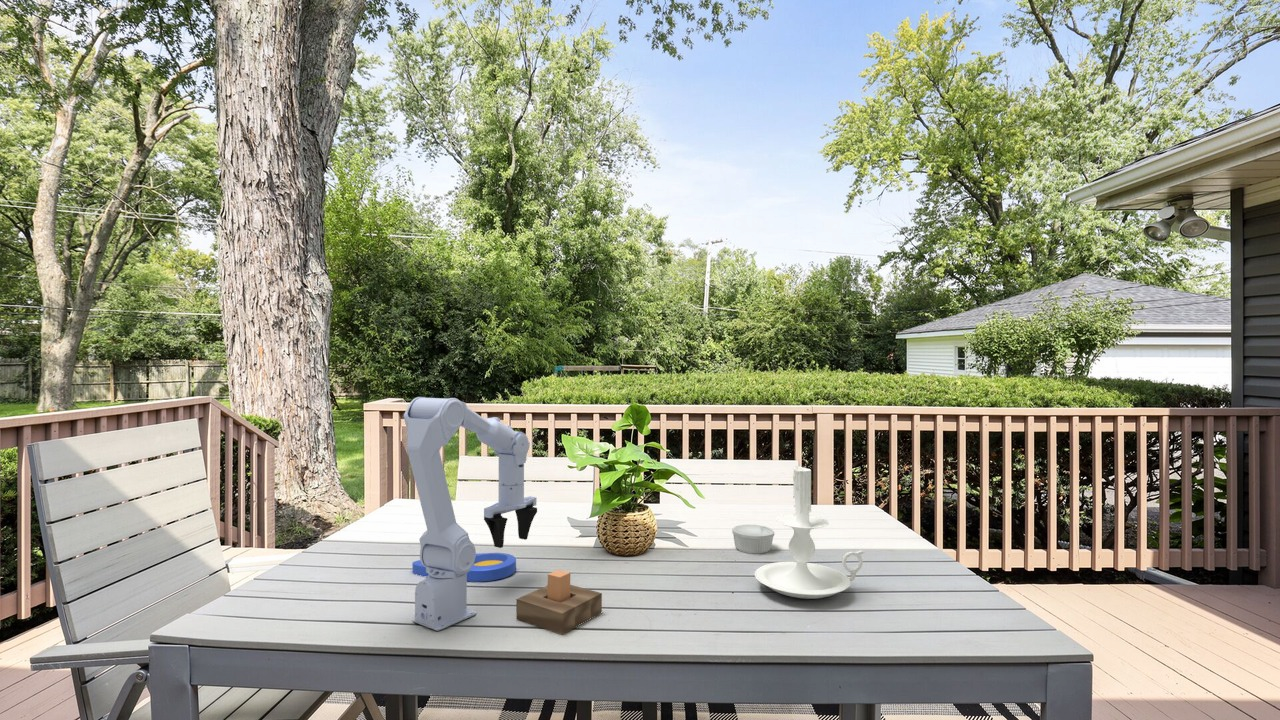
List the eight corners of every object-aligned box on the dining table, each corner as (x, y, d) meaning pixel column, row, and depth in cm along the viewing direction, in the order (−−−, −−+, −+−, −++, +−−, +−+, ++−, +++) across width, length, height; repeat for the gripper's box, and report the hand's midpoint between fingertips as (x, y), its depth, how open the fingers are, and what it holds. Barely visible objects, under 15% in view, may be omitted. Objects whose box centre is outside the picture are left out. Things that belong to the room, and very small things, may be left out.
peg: (559, 618, 120) (559, 577, 120) (547, 614, 122) (547, 574, 122) (570, 612, 123) (570, 572, 123) (558, 608, 125) (558, 569, 125)
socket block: (562, 634, 114) (562, 613, 114) (516, 619, 121) (516, 599, 121) (601, 612, 124) (601, 593, 124) (557, 599, 131) (557, 581, 131)
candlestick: (886, 607, 127) (887, 472, 127) (770, 611, 125) (771, 474, 125) (844, 573, 148) (844, 457, 148) (744, 576, 145) (744, 458, 145)
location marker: (401, 584, 142) (508, 583, 141) (401, 569, 142) (508, 568, 141) (423, 565, 155) (521, 564, 154) (423, 551, 155) (521, 550, 154)
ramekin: (782, 552, 163) (782, 533, 163) (746, 557, 159) (746, 537, 159) (759, 541, 174) (759, 522, 174) (724, 545, 170) (725, 526, 170)
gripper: (499, 491, 132) (499, 554, 132) (546, 480, 144) (545, 538, 144) (477, 487, 136) (477, 548, 136) (524, 477, 148) (524, 533, 148)
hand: (511, 542), depth 140 cm, fingers open, 7 cm apart
